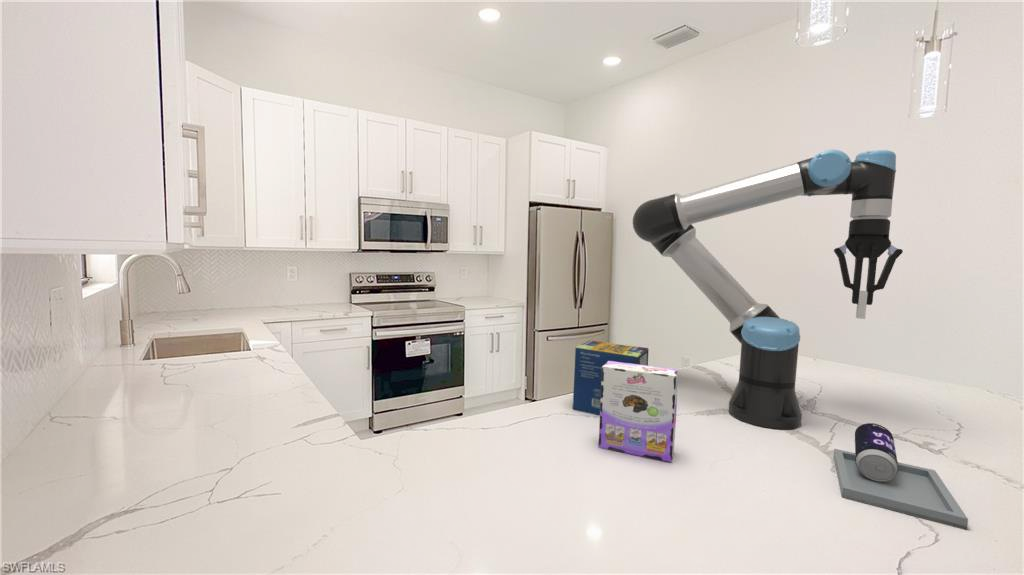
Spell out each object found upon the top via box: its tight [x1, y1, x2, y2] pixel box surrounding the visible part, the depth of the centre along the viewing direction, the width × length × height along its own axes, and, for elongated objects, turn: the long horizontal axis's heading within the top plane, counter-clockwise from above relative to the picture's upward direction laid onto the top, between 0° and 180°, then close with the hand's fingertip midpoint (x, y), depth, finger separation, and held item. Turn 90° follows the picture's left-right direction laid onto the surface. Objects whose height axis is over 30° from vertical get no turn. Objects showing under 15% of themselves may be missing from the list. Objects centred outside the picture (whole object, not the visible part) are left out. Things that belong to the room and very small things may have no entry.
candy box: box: [597, 361, 679, 463], centre depth 85 cm, size 14×6×16 cm, turn 65°
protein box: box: [572, 340, 650, 416], centre depth 107 cm, size 10×15×16 cm
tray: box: [833, 448, 969, 530], centre depth 74 cm, size 14×17×2 cm
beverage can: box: [854, 422, 898, 482], centre depth 79 cm, size 6×6×12 cm
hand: (860, 317), depth 106 cm, fingers closed
